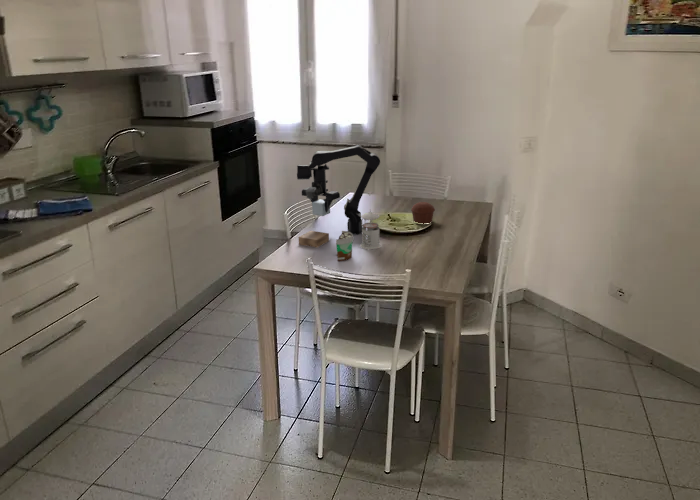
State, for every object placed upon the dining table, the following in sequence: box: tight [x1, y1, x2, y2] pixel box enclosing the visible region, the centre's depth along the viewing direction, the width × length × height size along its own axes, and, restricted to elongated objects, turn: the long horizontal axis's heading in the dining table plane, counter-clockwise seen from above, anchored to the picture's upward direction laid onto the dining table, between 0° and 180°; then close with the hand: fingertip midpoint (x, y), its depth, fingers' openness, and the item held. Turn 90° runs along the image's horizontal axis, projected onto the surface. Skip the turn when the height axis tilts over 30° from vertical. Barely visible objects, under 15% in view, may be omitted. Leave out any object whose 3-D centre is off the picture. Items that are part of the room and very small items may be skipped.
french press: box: [359, 191, 383, 250], centre depth 256 cm, size 10×12×25 cm
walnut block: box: [298, 230, 330, 249], centre depth 265 cm, size 10×10×4 cm
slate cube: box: [311, 198, 331, 217], centre depth 274 cm, size 6×6×6 cm
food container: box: [335, 230, 355, 262], centre depth 245 cm, size 12×6×10 cm, turn 168°
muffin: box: [410, 201, 436, 224], centre depth 287 cm, size 12×11×10 cm
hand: (321, 211), depth 274 cm, fingers closed on slate cube, 6 cm apart
